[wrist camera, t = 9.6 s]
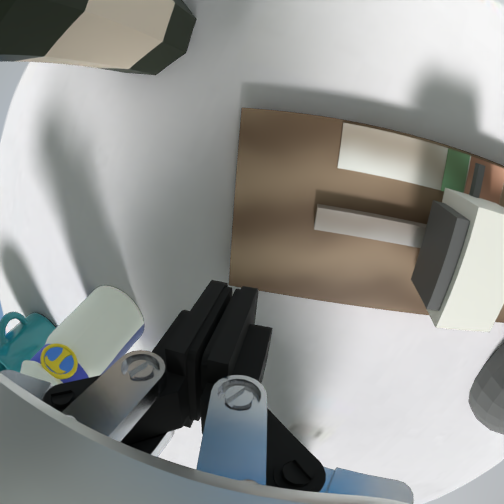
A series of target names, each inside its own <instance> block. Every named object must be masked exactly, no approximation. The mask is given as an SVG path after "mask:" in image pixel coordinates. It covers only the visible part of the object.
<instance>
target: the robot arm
mask: <svg viewBox="0 0 504 504" xmlns="http://www.w3.org/2000/svg"><path fill="white" fill-rule="evenodd" d="M257 298H258V288H252V287H247V286H242V288H241V289H236V290H235V292H234V294H233V296H232V288H230V287H228V284H227V283H225V282H219V281H214V280H212V281H211V282H210V283H209V285H208V286H207V287H206V289H205V290H204V292H203V293H202V295H201V296H200V298H199V299H198V300H197V302H196V303H195V305H194V306H193V308H192V309H191V311H186V310H183V311H181V312H180V314H179V315H178V316H177V318H176V319H175V321H174V322H173V323H172V325H171V326H170V327H169V329H168V330H167V332H166V333H165V334H164V336H163V337H162V339H161V340H160V341H159V343H158V344H157V346H156V347H155V348H154V350H153V351H152V352H150V351H142V350H139V351H132V352H130V353H127V354H125V355H124V356H122V357H121V358H120V359H119V360H118V361H116V362H115V363H114V364H113V365H112V366H111V367H110V368H109V369H108V370H107V371H106V372H105V373H103V374H102V375H99V376H95V377H90V378H85V379H81V380H76V381H71V382H66V383H61V384H58V385H55V386H53V385H52V383H50V382H47V381H43V380H40V379H37V378H34V377H31V376H28V375H25V374H22V373H19V372H16V371H13V370H3V371H1V372H0V504H413V493H412V491H411V489H410V487H409V486H408V485H406V484H405V483H404V482H401V481H398V480H393V479H387V478H382V477H377V476H372V475H367V474H362V473H358V472H353V471H349V470H345V469H341V468H336V469H335V470H333V469H329V468H326V467H323V465H322V464H321V463H320V462H319V460H318V459H317V458H316V457H315V456H313V455H312V454H311V453H310V452H309V451H308V450H307V449H306V448H305V447H304V446H303V445H302V444H301V443H300V442H299V441H298V440H297V439H296V438H295V437H294V436H293V435H292V434H291V433H290V431H289V430H288V429H287V428H286V427H285V426H284V425H283V424H282V423H281V422H280V421H279V420H278V419H277V418H276V417H275V416H274V415H273V414H272V413H271V411H270V410H269V409H268V408H267V393H266V390H265V388H264V387H263V385H262V384H261V382H262V378H263V374H264V370H265V366H266V361H267V356H268V351H269V346H270V340H271V334H272V328H270V327H264V326H259V325H254V323H255V315H256V307H257ZM200 417H201V424H202V434H203V437H202V442H201V447H200V453H199V458H198V463H197V469H192V468H189V467H186V466H182V465H179V464H176V463H173V462H170V461H167V460H164V459H161V458H159V457H158V456H159V455H160V453H161V452H162V451H163V449H164V448H165V447H166V445H167V444H168V442H169V441H170V440H171V438H172V436H173V434H174V430H176V429H179V428H182V427H183V426H186V427H189V428H190V427H191V425H192V423H193V420H197V421H199V419H200Z"/></svg>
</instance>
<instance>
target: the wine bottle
mask: <svg viewBox="0 0 504 504" xmlns="http://www.w3.org/2000/svg"><path fill="white" fill-rule="evenodd" d="M195 22H196V18H195V17H194V16H193V14H192V13H191V11H190V10H189V9H188V7H187V6H186V5H185V3H184V2H183V1H182V0H0V61H21V62H43V63H57V64H68V65H77V66H85V67H93V68H100V69H107V70H113V71H119V72H124V73H137V74H150V75H156V74H158V73H159V72H160V71H162V70H163V69H164V68H166V67H167V66H168V65H170V64H171V63H172V62H174V61H175V60H176V59H178V58H179V57H181V56H182V55H184V54H185V53H186V51H187V48H188V44H189V41H190V38H191V34H192V31H193V28H194V25H195Z"/></svg>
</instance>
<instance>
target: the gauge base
mask: <svg viewBox="0 0 504 504" xmlns="http://www.w3.org/2000/svg"><path fill="white" fill-rule="evenodd" d="M475 163H478V164H481V165H484V166H485V172H484V177H483V182H482V187H481V192H480V196H479V198H482V199H485V200H488V201H491V202H494V203H497V204H498V205H500V206H502V207H504V166H503V165H500V164H498V163H495V162H493V161H490V160H488V159H485V158H482V157H480V156H477V155H474V154H471V153H469V152H466V151H463V150H460V149H457V148H454V147H451V146H448V145H445V144H441V143H438V142H435V141H431V140H428V139H425V138H421V137H417V136H414V135H410V134H406V133H402V132H398V131H394V130H390V129H386V128H381V127H377V126H372V125H368V124H363V123H358V122H352V121H347V120H342V119H336V118H330V117H323V116H317V115H310V114H302V113H294V112H286V111H276V110H266V109H253V108H242V110H241V122H240V133H239V145H238V158H237V171H236V184H235V197H234V211H233V226H232V241H231V257H230V273H229V285H231V286H236V287H242V286H247V287H252V288H258V290H259V291H265V292H271V293H277V294H283V295H289V296H295V297H301V298H308V299H314V300H320V301H327V302H334V303H340V304H347V305H354V306H361V307H369V308H376V309H383V310H391V311H399V312H407V313H415V314H423V315H429V313H428V311H427V309H426V307H425V305H424V303H423V301H422V299H421V297H420V295H419V293H418V292H417V290H416V288H415V286H414V284H413V282H412V280H411V277H412V274H413V271H414V268H415V264H416V261H417V258H418V255H419V251H420V248H421V245H422V241H423V237H424V234H425V230H426V226H427V223H428V219H429V215H430V210H431V206H432V202H433V200H434V201H438V202H442V200H443V195H444V191H445V188H448V189H452V190H455V191H459V192H462V193H465V194H469V193H470V188H471V184H472V179H473V173H474V168H475ZM495 322H502V323H504V304H503V306H502V308H501V310H500V313H499V315H498V317H497V319H496V321H495Z"/></svg>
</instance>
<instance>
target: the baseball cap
mask: <svg viewBox="0 0 504 504" xmlns="http://www.w3.org/2000/svg"><path fill="white" fill-rule="evenodd" d="M469 404H470V407H471V409H472V411H473V413H474V415H475V417H476V419H478V420H479V421H480V422H481V423H482V424H483V425H485V426H486V427H487V428H488V429H490V430H492V431H495V432H498V433H501V434H504V343H503V344H502V345H501V346H500V347H499V348H498V349H497V350H496V351H495V353H494V354H493V355H492V356H491V357H490V359H489V360H488V361H487V362H486V363H485V364H484V366H483V368H482V369H481V371H480V372H479V374H478V375H477V377H476V378H475V380H474V383H473V385H472V388H471V390H470V394H469Z"/></svg>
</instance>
